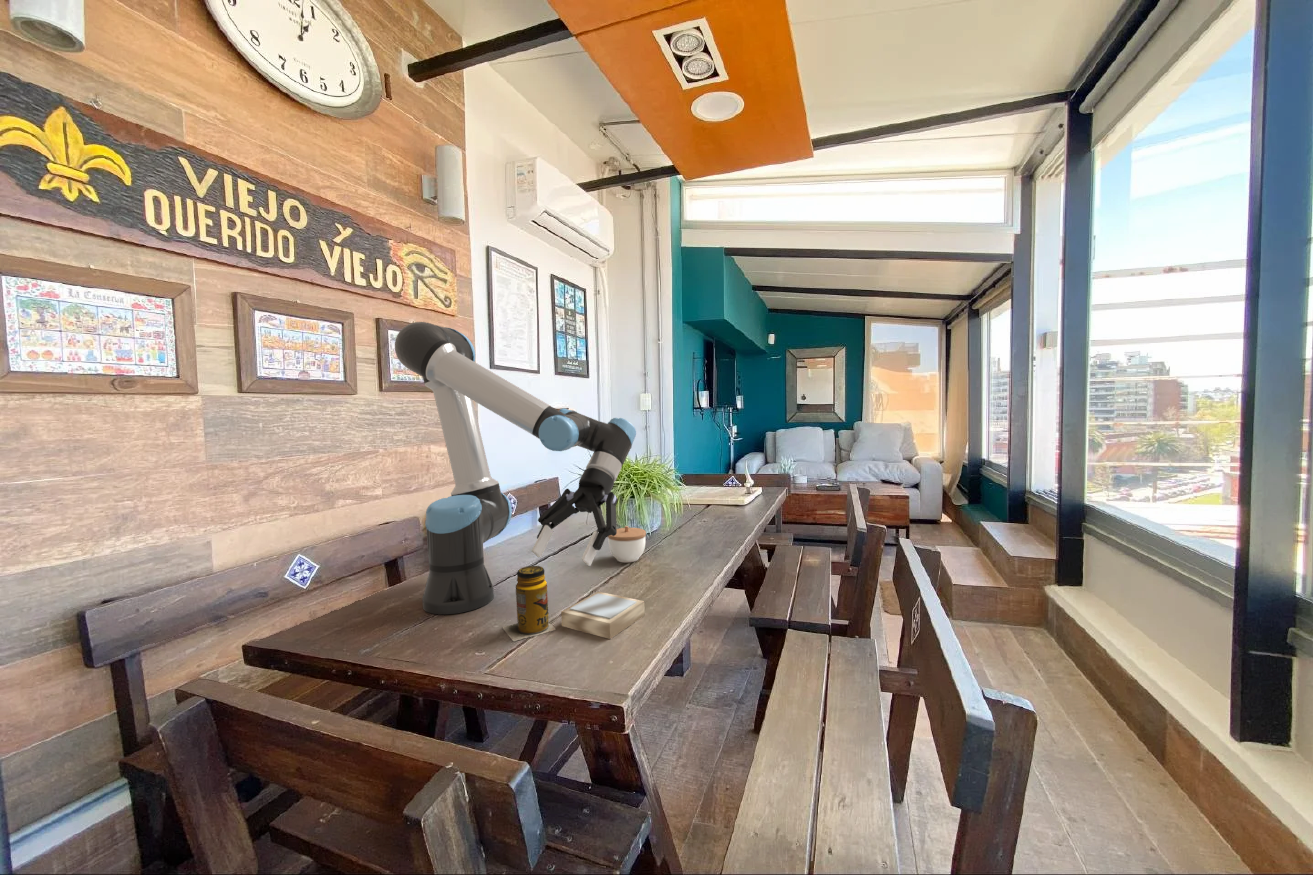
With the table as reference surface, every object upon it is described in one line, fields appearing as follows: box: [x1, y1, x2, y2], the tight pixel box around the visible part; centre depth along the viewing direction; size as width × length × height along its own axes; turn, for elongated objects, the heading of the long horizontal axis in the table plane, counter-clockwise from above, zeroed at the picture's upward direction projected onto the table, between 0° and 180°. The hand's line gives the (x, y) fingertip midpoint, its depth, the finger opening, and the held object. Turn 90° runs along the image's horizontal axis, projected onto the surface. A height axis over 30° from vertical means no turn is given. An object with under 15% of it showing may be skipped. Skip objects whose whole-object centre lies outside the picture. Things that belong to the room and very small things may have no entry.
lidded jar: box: [607, 525, 647, 564], centre depth 145 cm, size 11×11×9 cm
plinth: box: [560, 591, 646, 640], centre depth 104 cm, size 12×12×3 cm
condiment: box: [501, 565, 556, 642], centre depth 101 cm, size 7×8×12 cm
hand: (560, 558), depth 108 cm, fingers open, 13 cm apart
